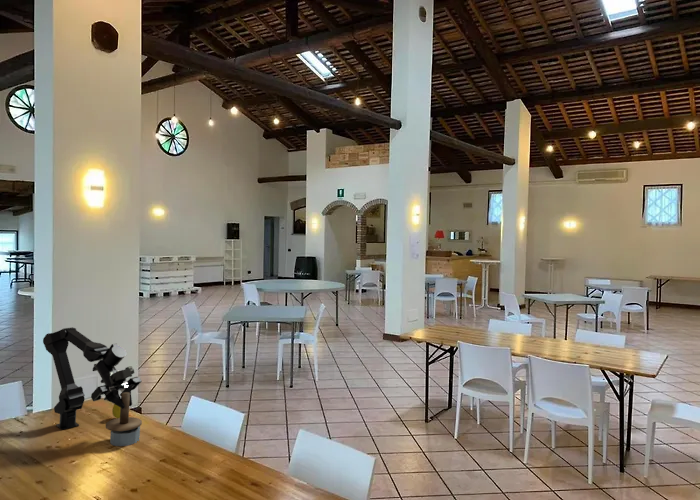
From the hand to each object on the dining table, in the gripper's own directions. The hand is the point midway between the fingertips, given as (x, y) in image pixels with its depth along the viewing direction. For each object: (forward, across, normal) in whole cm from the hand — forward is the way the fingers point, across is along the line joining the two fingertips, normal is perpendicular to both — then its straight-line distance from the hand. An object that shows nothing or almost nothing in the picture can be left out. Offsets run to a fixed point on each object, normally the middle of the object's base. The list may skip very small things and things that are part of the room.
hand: (127, 406), depth 179 cm
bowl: (+8, +1, +10) cm, 14 cm away
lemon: (-6, +16, +26) cm, 31 cm away
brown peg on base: (+4, 0, +6) cm, 7 cm away
